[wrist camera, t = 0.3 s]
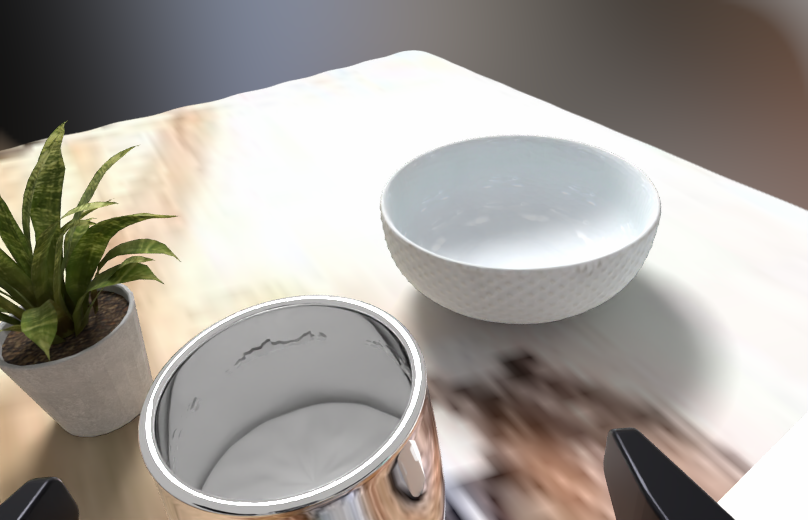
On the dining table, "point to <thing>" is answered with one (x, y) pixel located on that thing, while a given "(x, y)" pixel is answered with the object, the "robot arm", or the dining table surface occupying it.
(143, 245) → the house plant
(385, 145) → the dining table surface
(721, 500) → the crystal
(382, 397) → the beer glass
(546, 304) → the cereal bowl
